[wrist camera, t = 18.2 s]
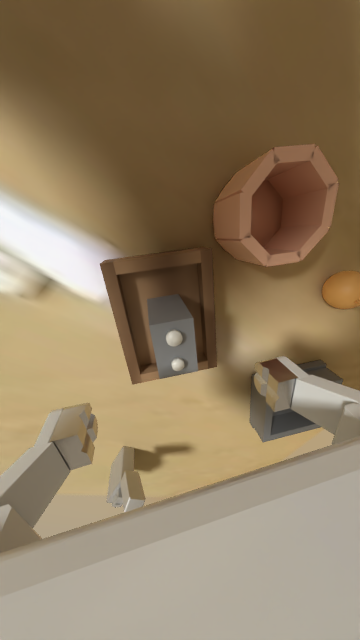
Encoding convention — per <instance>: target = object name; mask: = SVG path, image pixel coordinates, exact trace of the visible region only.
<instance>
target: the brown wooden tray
mask: <svg viewBox="0 0 360 640" xmlns="http://www.w3.org/2000/svg"><path fill="white" fill-rule="evenodd" d="M100 267H101V270H102V274H103V278H104V281H105V285H106V289H107V292H108V296H109V300H110V303H111V307H112V311H113V314H114V318H115V322H116V326H117V329H118V333H119V337H120V340H121V344H122V348H123V351H124V355H125V359H126V362H127V366H128V370H129V373H130V377H131V381H132V384H137V383H142V382H147V381H151V380H156V379H160V378H159V373H158V368H157V363H156V358H155V353H154V348H153V343H152V338H151V333H150V328H149V318H148V306H147V299H150V298H157V297H163V296H169V295H175V294H179V296H180V297H181V299H182V301H183V302H184V304H185V305H186V307H187V309H188V310H189V312H190V313H191V315H192V317H193V320H194V331H195V342H196V353H197V363H198V371H199V370H204V369H209V368H214V367H217V352H216V329H215V305H214V282H213V258H212V249H211V248H206V247H200V248H192V249H185V250H177V251H170V252H163V253H155V254H148V255H140V256H133V257H125V258H118V259H111V260H105V261H103V262H102V263H100Z"/></svg>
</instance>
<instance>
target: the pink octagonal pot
mask: <svg viewBox="0 0 360 640" xmlns="http://www.w3.org/2000/svg"><path fill="white" fill-rule="evenodd" d="M337 181H338V178H337V176H336V175H335V173H334V171H333V170H332V168H331V166H330V165H329V163H328V161H327V160H326V158H325V156H324V155H323V153H322V151H321V150H320V148H319V146H318V145H317V146H315V144H307V145H294V146H281V147H274V148H272V149H271V150H269V151H268V152H266V153H265V154H263V155H262V156H260V157H259V158H257V159H256V160H254V161H253V162H251V163H250V164H248V165H247V166H245V167H244V168H242V169H241V170H239V171H238V172H236V173H235V174H234V176H233V177H232V179H231V180H230V181H229V182H228V183H227V184H226V186H225V187H224V188H223V189H222V191H221V193H220V194H219V196H218V198H217V199H216V200H215V204H214V212H213V228H214V233H215V238H217V239H216V241H217V242H218V243H219V244H220V245H221V247H222V248H223V249H224V250H225V251H227V252H228V253H230V254H231V255H232V256H233V257H234V258H235V259H237V260H241V261H245V262H249V263H253V264H257V265H261V266H265V267H269V266H275V265H282V264H288V263H295V262H300V260H303V259H304V258H305V257H306V255H307V254H308V253H309V252H310V251H311V250H312V249H313V248H314V246H315V245H316V244H317V243H318V242H319V241H320V240H321V239H322V238H323V236H324V235H325V234H326V233H327V232H328V231H329V228H328V227H331V224H332V218H333V213H334V207H335V202H336V196H337V191H338V186H339V183H336V182H337Z"/></svg>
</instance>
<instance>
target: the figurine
mask: <svg viewBox="0 0 360 640" xmlns="http://www.w3.org/2000/svg"><path fill="white" fill-rule="evenodd" d="M322 295H323V298H324V300H325V301H326V302H327V303H328V304H329V305H331V306H333V307H335V308H339V309H350V308H354V307H357V306H360V273H359V272H356V271H342V272H339V273H336V274H334V275H332V276H331V277H330V278H328V279H327V281H326V282H325V283H324V285H323V289H322Z"/></svg>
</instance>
